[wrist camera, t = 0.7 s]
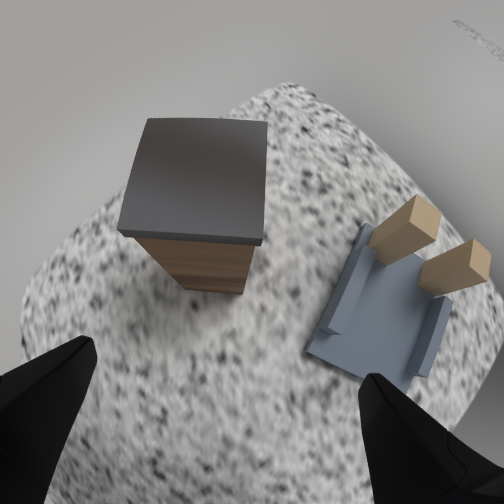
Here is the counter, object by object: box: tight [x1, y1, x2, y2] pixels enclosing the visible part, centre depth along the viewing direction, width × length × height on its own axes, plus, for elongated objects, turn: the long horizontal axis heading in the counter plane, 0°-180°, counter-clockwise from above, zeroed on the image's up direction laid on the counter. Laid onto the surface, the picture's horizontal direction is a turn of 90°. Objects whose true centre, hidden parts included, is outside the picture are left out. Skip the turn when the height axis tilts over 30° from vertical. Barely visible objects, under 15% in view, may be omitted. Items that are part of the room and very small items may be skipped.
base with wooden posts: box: [304, 194, 491, 395], centre depth 19 cm, size 12×10×8 cm
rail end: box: [117, 118, 268, 294], centre depth 16 cm, size 5×5×14 cm
